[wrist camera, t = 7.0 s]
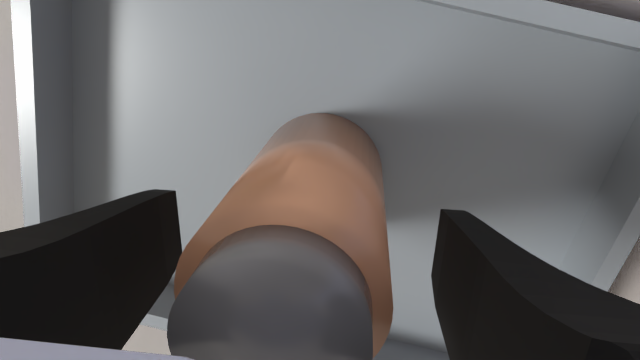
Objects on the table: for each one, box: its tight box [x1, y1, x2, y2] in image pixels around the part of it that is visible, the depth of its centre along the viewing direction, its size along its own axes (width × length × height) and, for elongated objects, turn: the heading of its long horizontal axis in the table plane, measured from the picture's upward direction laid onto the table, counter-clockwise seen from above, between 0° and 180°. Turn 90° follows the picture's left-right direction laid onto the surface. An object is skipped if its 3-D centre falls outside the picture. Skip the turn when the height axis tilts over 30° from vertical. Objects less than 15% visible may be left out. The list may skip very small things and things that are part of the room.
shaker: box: [167, 113, 393, 360], centre depth 11 cm, size 4×4×9 cm
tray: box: [11, 0, 640, 360], centre depth 15 cm, size 20×14×2 cm
